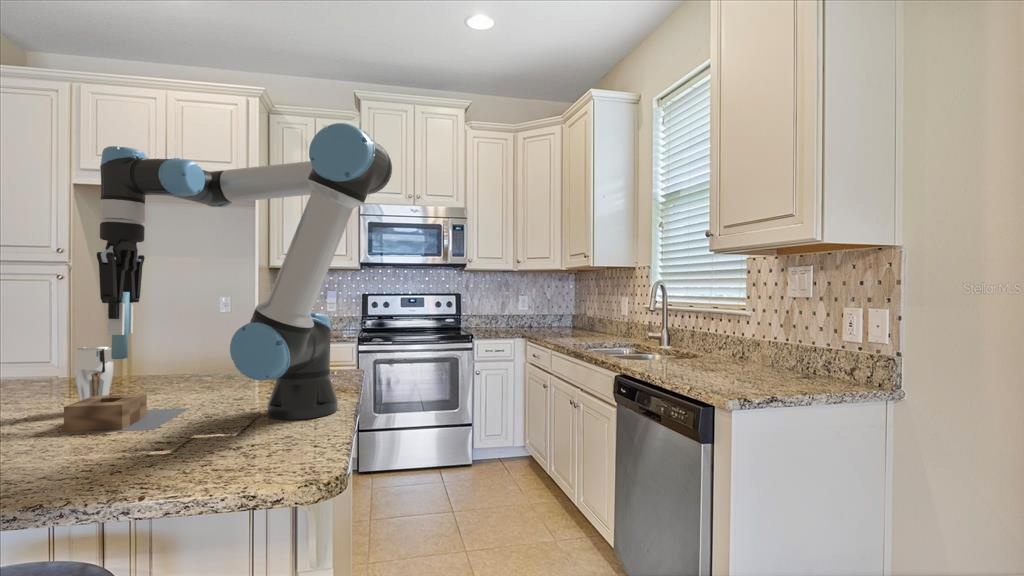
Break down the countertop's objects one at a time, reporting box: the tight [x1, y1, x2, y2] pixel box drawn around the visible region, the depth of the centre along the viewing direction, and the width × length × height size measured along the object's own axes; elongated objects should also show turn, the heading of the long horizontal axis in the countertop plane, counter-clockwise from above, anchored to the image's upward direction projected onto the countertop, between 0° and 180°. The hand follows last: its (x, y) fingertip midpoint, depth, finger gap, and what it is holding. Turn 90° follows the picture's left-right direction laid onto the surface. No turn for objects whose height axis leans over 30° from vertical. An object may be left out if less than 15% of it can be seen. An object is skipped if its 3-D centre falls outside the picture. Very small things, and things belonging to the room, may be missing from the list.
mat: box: [60, 407, 190, 435], centre depth 109 cm, size 16×18×1 cm
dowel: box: [111, 292, 130, 360], centre depth 108 cm, size 3×3×14 cm
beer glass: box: [73, 345, 115, 401], centre depth 116 cm, size 7×7×15 cm
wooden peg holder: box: [63, 393, 148, 433], centre depth 106 cm, size 10×10×5 cm
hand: (120, 333), depth 108 cm, fingers closed on dowel, 3 cm apart
